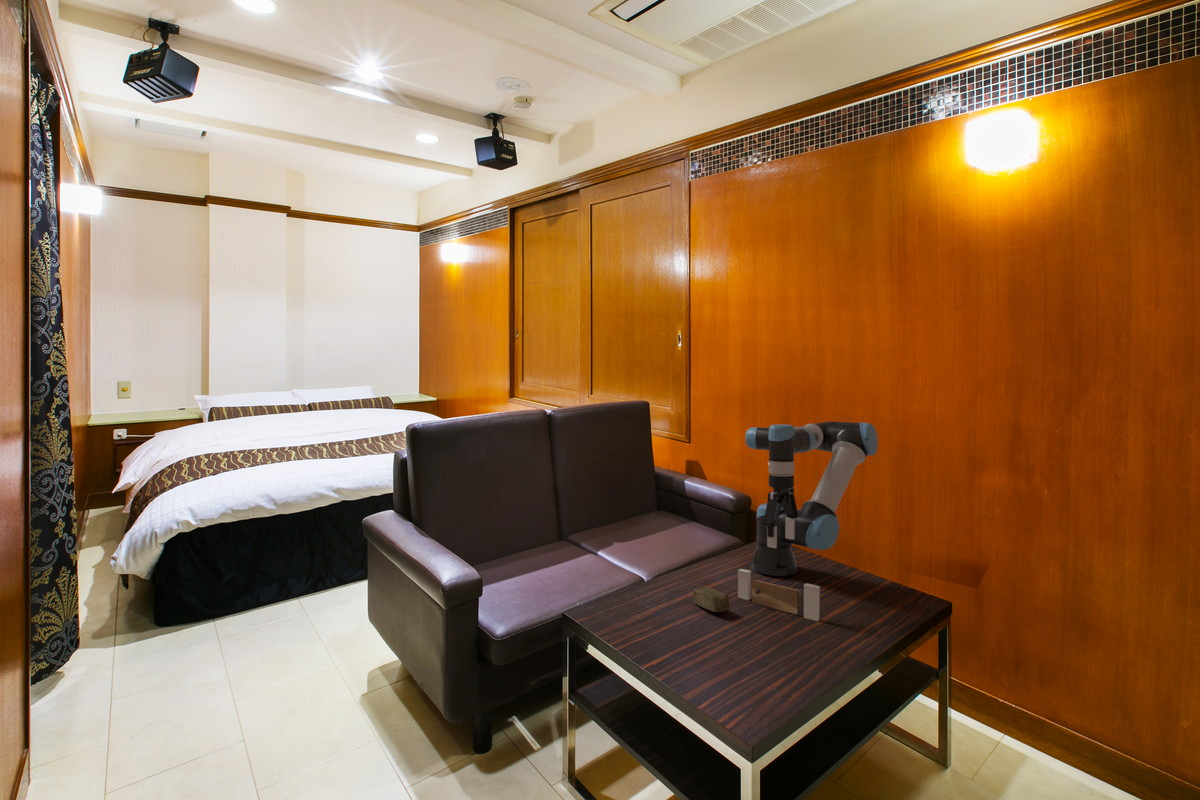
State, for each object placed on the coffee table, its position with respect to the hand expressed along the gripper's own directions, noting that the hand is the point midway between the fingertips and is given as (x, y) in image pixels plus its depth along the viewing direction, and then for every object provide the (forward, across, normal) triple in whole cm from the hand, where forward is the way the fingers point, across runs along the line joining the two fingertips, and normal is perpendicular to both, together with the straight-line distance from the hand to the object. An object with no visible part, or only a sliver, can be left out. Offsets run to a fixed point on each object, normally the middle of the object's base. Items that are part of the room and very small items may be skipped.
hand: (781, 543), depth 182 cm
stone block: (+19, +21, -10) cm, 30 cm away
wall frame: (+18, +7, +1) cm, 20 cm away
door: (+18, +7, +9) cm, 22 cm away
